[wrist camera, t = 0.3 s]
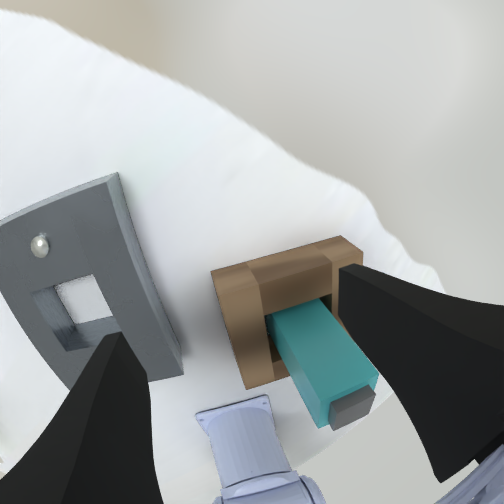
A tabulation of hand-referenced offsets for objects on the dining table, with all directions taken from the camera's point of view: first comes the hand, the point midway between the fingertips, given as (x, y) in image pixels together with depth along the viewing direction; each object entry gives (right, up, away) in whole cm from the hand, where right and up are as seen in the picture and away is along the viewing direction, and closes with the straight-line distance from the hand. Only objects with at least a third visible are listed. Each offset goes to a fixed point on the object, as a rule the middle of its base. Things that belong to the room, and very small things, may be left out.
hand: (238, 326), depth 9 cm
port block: (-11, 0, +8) cm, 14 cm away
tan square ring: (+3, -2, +14) cm, 14 cm away
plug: (+3, -2, +14) cm, 14 cm away
